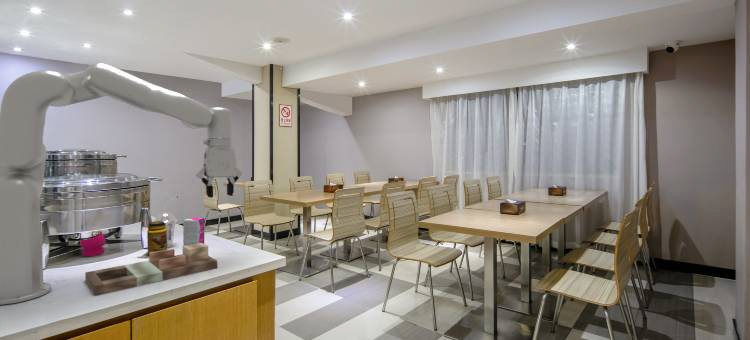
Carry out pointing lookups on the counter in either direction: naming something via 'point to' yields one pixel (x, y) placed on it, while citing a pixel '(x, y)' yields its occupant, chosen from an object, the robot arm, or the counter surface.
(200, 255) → the maple block
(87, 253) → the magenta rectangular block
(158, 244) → the condiment
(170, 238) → the cup with straw
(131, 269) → the board
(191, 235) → the supplement box
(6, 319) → the counter surface
